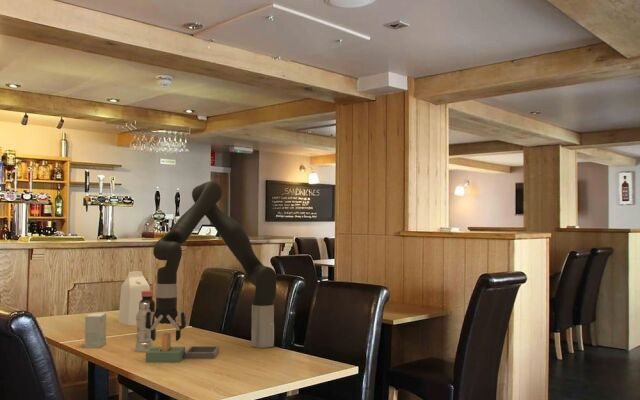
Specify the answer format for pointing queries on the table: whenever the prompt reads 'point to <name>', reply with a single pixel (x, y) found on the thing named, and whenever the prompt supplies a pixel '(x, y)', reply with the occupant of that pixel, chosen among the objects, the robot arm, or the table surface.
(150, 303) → the vinegar
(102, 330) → the small box
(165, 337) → the tan wooden plank
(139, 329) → the plastic bottle
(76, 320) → the table surface
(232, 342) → the table surface
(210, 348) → the tray
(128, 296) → the milk
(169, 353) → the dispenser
